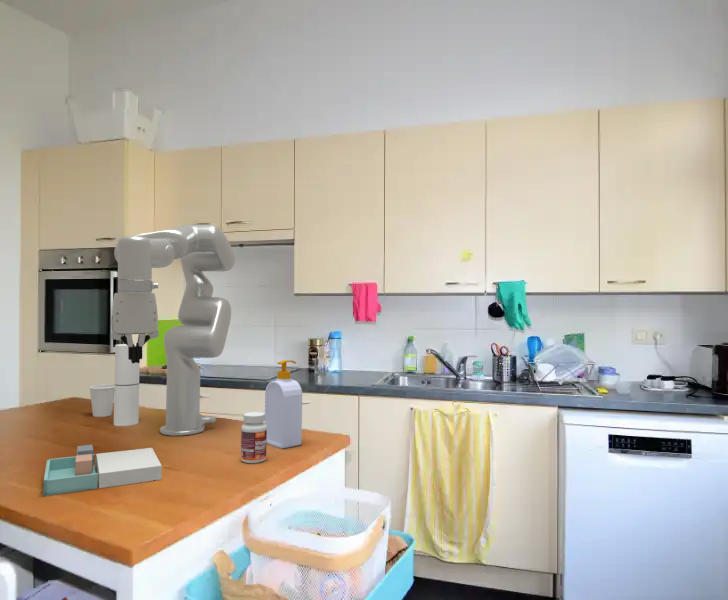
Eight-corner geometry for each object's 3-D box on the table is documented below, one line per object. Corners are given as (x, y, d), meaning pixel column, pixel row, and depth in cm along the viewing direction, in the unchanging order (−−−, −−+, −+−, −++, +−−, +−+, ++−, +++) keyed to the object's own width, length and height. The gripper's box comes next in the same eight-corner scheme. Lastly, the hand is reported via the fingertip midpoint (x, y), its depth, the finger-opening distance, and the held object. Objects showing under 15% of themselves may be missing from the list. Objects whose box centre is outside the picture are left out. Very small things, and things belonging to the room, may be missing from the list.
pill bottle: (258, 465, 122) (259, 417, 123) (235, 462, 124) (236, 415, 124) (270, 458, 128) (271, 412, 129) (248, 455, 130) (249, 410, 130)
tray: (94, 467, 119) (94, 454, 119) (97, 488, 105) (97, 473, 105) (46, 472, 114) (47, 459, 114) (43, 496, 100) (43, 480, 101)
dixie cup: (108, 418, 171) (108, 387, 171) (83, 417, 171) (84, 387, 171) (120, 413, 179) (121, 384, 179) (96, 412, 179) (97, 383, 180)
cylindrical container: (122, 427, 158) (124, 345, 159) (108, 424, 162) (110, 344, 163) (143, 423, 164) (144, 344, 165) (129, 420, 168) (131, 343, 169)
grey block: (92, 444, 118) (77, 446, 116) (93, 449, 113) (77, 451, 112) (91, 466, 117) (76, 468, 116) (92, 472, 113) (77, 474, 112)
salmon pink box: (92, 453, 110) (76, 455, 109) (92, 460, 106) (75, 461, 104) (91, 477, 110) (75, 479, 109) (91, 484, 106) (74, 486, 104)
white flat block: (151, 460, 125) (151, 447, 125) (161, 479, 111) (161, 465, 111) (96, 466, 119) (96, 453, 119) (99, 488, 105) (99, 473, 105)
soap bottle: (303, 444, 141) (305, 361, 141) (282, 449, 136) (284, 362, 136) (284, 438, 147) (286, 358, 148) (264, 442, 143) (265, 360, 143)
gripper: (165, 287, 132) (165, 358, 133) (99, 287, 125) (100, 362, 125) (170, 287, 126) (170, 362, 126) (101, 287, 118) (102, 367, 119)
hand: (135, 362), depth 126 cm, fingers closed
